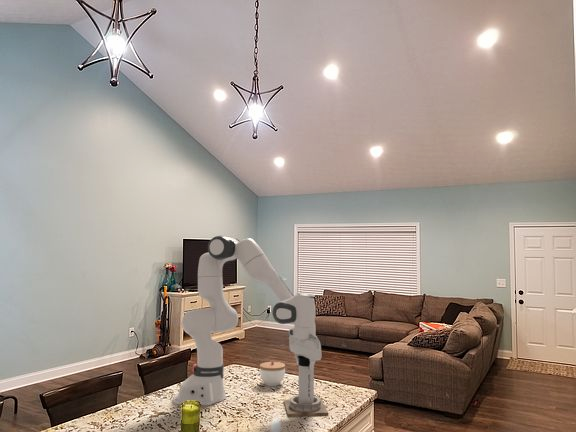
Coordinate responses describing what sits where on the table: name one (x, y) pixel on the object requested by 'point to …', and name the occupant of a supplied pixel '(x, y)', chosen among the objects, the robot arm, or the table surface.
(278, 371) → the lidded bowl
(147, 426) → the table surface
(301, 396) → the travel mug
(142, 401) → the table surface
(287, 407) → the collar board
